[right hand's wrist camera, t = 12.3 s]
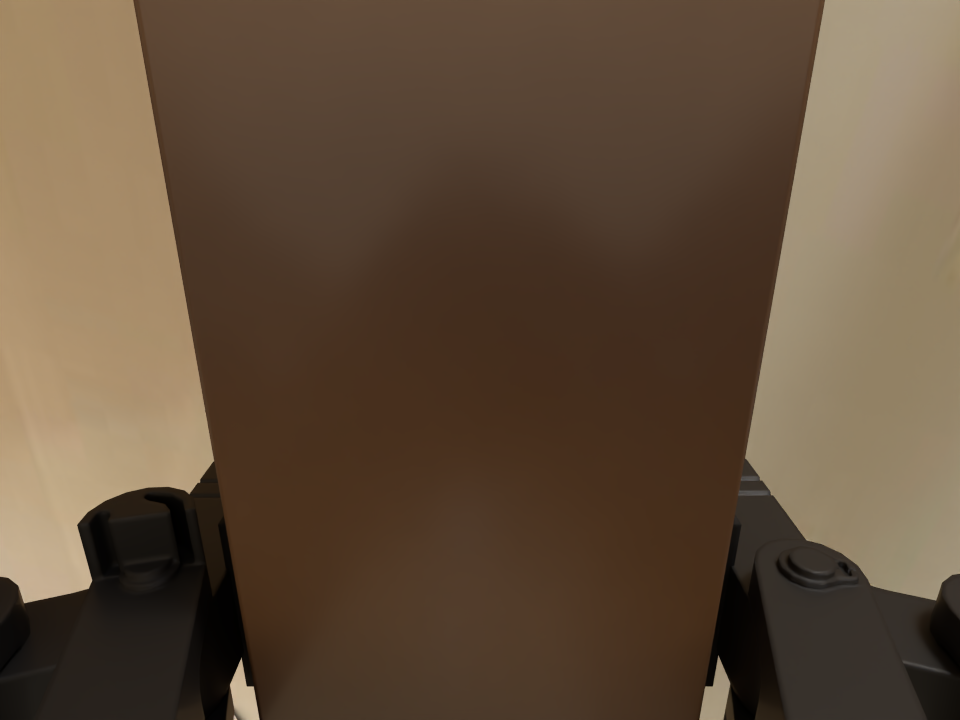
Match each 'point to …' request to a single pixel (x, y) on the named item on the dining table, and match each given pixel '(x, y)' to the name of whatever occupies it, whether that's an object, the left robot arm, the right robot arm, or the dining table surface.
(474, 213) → the bar
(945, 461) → the dining table surface
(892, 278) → the dining table surface
